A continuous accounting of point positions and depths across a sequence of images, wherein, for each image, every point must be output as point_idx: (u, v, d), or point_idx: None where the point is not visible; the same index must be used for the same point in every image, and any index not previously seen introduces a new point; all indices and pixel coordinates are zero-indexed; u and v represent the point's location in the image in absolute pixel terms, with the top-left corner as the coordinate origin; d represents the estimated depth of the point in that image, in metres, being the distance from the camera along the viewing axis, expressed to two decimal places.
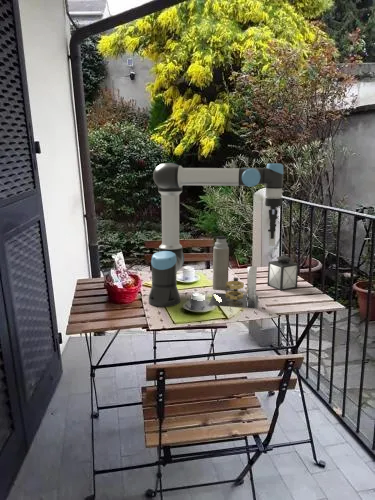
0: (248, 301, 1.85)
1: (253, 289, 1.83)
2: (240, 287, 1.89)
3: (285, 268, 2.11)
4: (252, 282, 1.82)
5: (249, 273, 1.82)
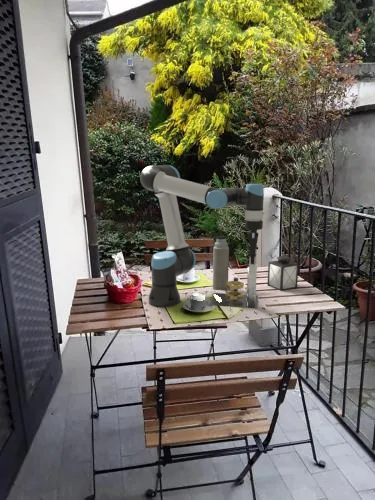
0: (248, 301, 1.85)
1: (253, 289, 1.83)
2: (240, 287, 1.89)
3: (285, 268, 2.11)
4: (252, 282, 1.82)
5: (249, 273, 1.82)
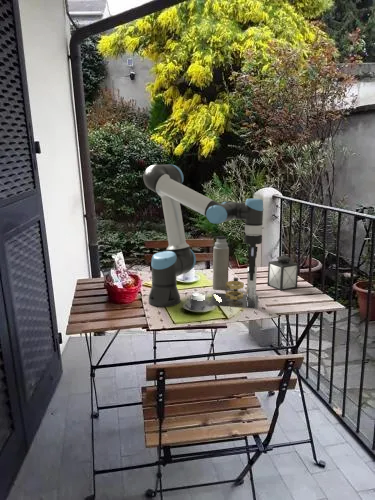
0: (248, 301, 1.85)
1: (253, 289, 1.83)
2: (240, 287, 1.89)
3: (285, 268, 2.11)
4: None
5: None
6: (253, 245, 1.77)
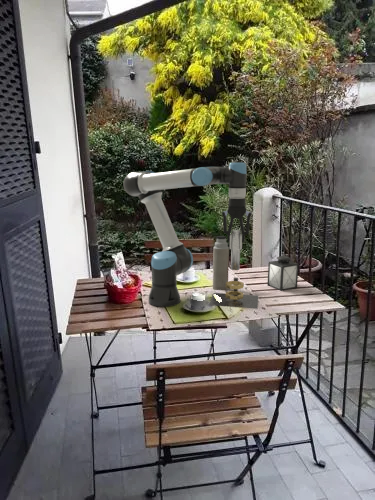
0: None
1: (231, 251, 1.88)
2: (240, 287, 1.89)
3: (285, 268, 2.11)
4: (231, 245, 1.88)
5: None
6: (228, 207, 1.85)
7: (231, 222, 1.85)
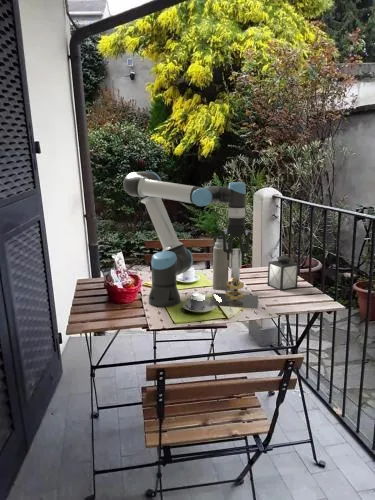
0: None
1: (231, 270, 1.90)
2: (240, 287, 1.89)
3: (285, 268, 2.11)
4: (231, 263, 1.90)
5: None
6: (228, 226, 1.87)
7: (231, 241, 1.87)
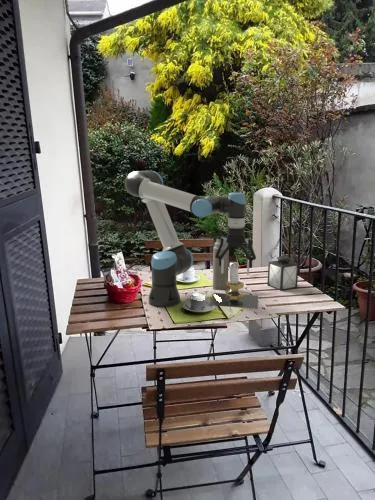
0: None
1: (230, 283, 1.92)
2: (240, 287, 1.89)
3: (285, 268, 2.11)
4: None
5: None
6: None
7: (227, 249, 1.88)
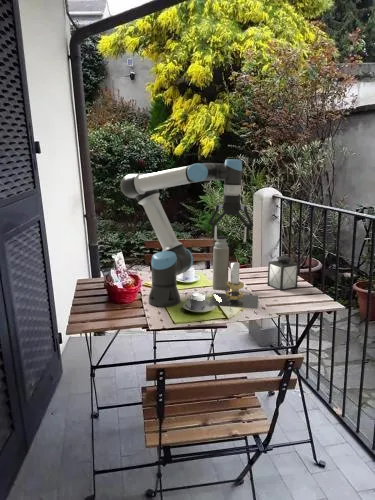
0: None
1: (230, 283, 1.92)
2: (240, 287, 1.89)
3: (285, 268, 2.11)
4: None
5: None
6: (225, 203, 1.86)
7: (221, 216, 1.86)
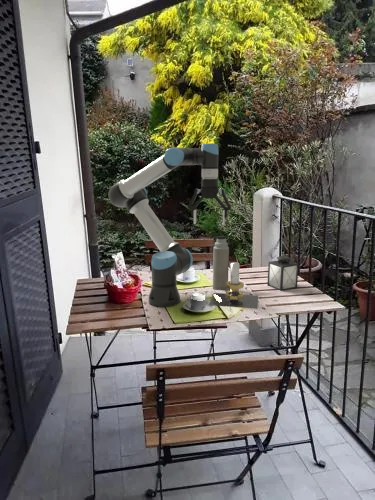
0: None
1: (230, 283, 1.92)
2: (240, 287, 1.89)
3: (285, 268, 2.11)
4: (230, 276, 1.92)
5: None
6: None
7: (199, 200, 1.90)
